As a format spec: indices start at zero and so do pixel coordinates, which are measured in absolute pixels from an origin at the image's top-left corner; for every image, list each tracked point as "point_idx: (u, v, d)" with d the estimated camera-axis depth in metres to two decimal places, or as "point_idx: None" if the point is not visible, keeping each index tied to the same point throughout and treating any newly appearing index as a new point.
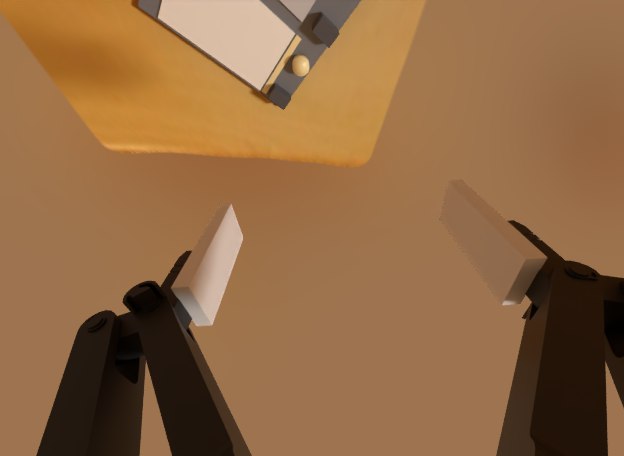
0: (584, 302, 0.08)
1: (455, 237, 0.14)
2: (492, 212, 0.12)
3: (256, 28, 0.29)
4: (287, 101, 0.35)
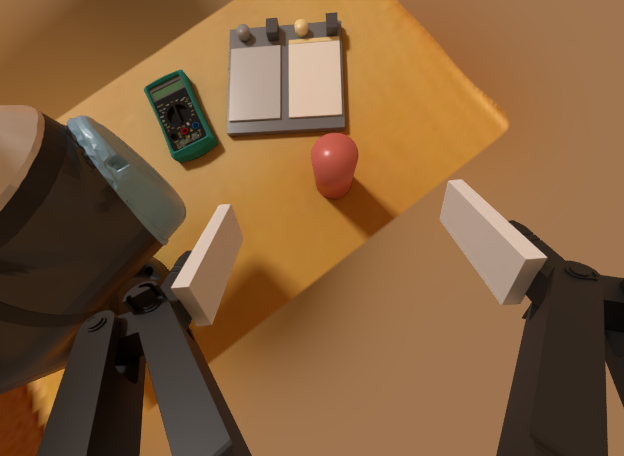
0: (585, 302, 0.08)
1: (455, 237, 0.14)
2: (491, 212, 0.12)
3: (303, 64, 0.41)
4: (328, 14, 0.40)
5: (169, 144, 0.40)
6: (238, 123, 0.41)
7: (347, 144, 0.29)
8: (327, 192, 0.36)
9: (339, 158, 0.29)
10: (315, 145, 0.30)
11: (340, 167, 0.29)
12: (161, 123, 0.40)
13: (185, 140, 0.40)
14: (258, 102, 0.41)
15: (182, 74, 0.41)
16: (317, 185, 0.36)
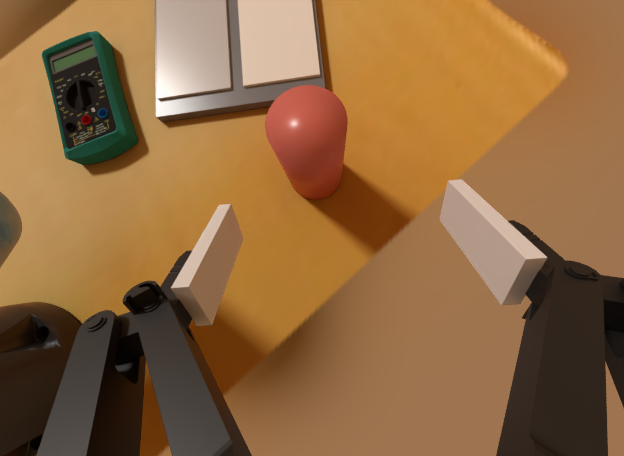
0: (584, 302, 0.08)
1: (455, 237, 0.14)
2: (491, 212, 0.12)
3: (259, 9, 0.28)
4: None
5: (62, 137, 0.27)
6: (171, 101, 0.28)
7: (326, 103, 0.17)
8: (305, 190, 0.23)
9: (314, 128, 0.17)
10: (271, 109, 0.17)
11: (317, 143, 0.16)
12: (56, 106, 0.28)
13: (86, 134, 0.27)
14: (198, 68, 0.28)
15: (96, 38, 0.29)
16: (290, 181, 0.24)
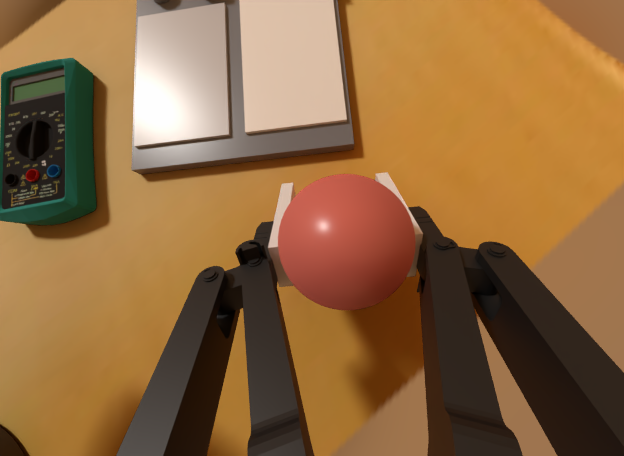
0: (452, 269, 0.09)
1: None
2: None
3: (267, 32, 0.22)
4: None
5: None
6: (152, 150, 0.22)
7: (379, 206, 0.10)
8: None
9: (359, 250, 0.10)
10: (288, 214, 0.10)
11: (365, 278, 0.10)
12: (2, 148, 0.22)
13: (28, 193, 0.21)
14: (187, 108, 0.22)
15: (70, 67, 0.22)
16: None
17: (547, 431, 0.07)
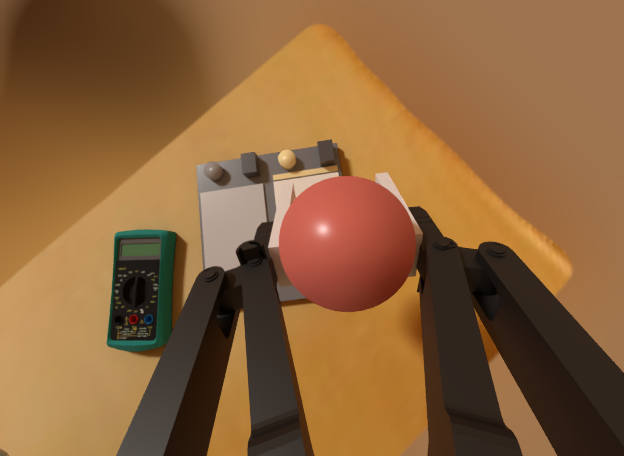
0: (452, 269, 0.09)
1: None
2: (398, 198, 0.13)
3: None
4: (320, 143, 0.31)
5: (109, 327, 0.31)
6: None
7: (380, 208, 0.10)
8: None
9: (360, 252, 0.10)
10: (289, 215, 0.10)
11: (366, 279, 0.10)
12: (113, 293, 0.31)
13: (129, 331, 0.30)
14: None
15: (164, 240, 0.32)
16: None
17: (547, 431, 0.07)
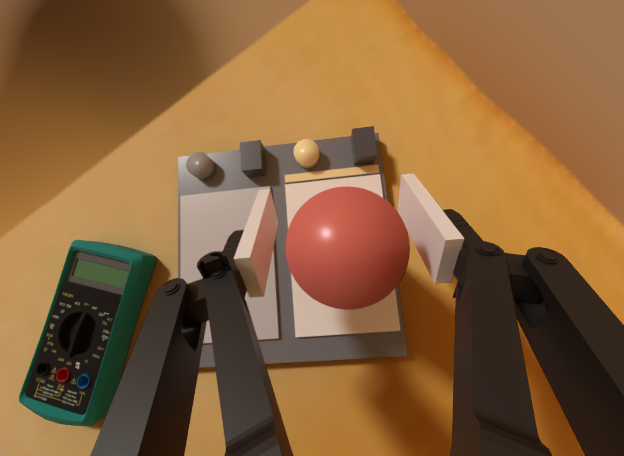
0: (495, 276, 0.09)
1: (407, 226, 0.15)
2: (430, 201, 0.13)
3: None
4: (357, 130, 0.21)
5: (27, 376, 0.21)
6: None
7: (378, 216, 0.11)
8: None
9: (359, 256, 0.11)
10: (295, 222, 0.11)
11: (365, 280, 0.11)
12: (46, 327, 0.22)
13: (53, 391, 0.21)
14: None
15: (135, 269, 0.22)
16: None
17: (585, 448, 0.07)
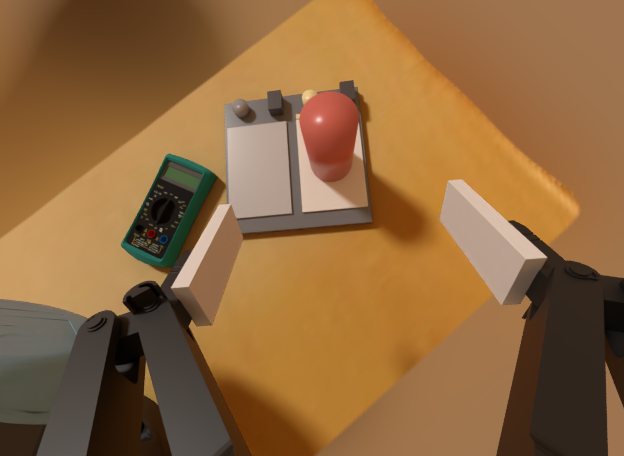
0: (584, 302, 0.08)
1: (455, 237, 0.14)
2: (491, 212, 0.12)
3: None
4: (343, 83, 0.33)
5: (129, 231, 0.33)
6: (240, 221, 0.33)
7: (344, 104, 0.23)
8: (323, 172, 0.30)
9: (334, 123, 0.23)
10: (304, 109, 0.23)
11: (337, 133, 0.23)
12: (143, 204, 0.34)
13: (143, 242, 0.33)
14: (263, 194, 0.33)
15: (205, 178, 0.34)
16: (311, 165, 0.30)
17: None
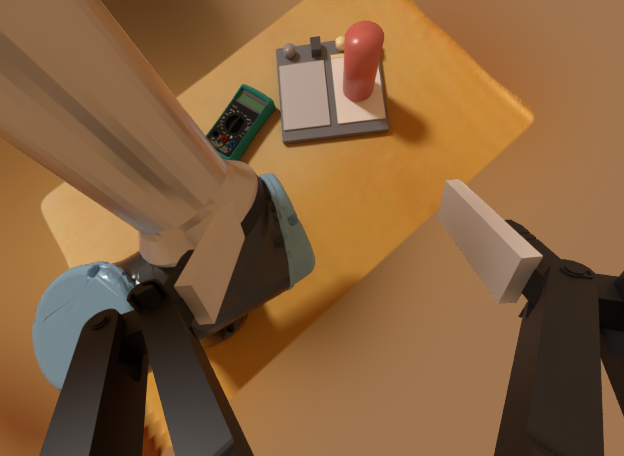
0: (580, 300, 0.08)
1: (453, 236, 0.14)
2: (489, 211, 0.12)
3: None
4: None
5: (207, 134, 0.45)
6: (292, 132, 0.45)
7: (374, 28, 0.35)
8: (355, 88, 0.42)
9: (368, 40, 0.35)
10: (347, 31, 0.36)
11: (369, 46, 0.35)
12: (221, 117, 0.46)
13: (217, 144, 0.45)
14: (308, 112, 0.45)
15: (268, 105, 0.45)
16: (345, 85, 0.43)
17: None
